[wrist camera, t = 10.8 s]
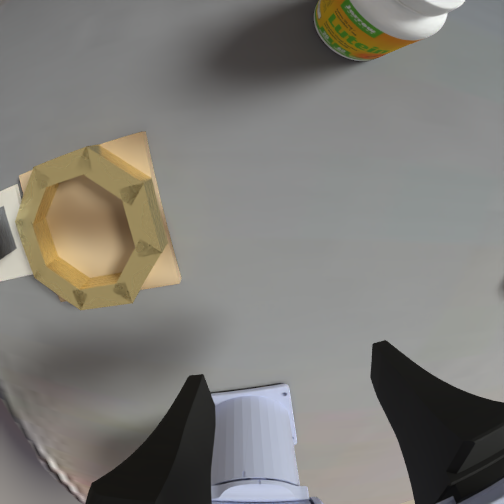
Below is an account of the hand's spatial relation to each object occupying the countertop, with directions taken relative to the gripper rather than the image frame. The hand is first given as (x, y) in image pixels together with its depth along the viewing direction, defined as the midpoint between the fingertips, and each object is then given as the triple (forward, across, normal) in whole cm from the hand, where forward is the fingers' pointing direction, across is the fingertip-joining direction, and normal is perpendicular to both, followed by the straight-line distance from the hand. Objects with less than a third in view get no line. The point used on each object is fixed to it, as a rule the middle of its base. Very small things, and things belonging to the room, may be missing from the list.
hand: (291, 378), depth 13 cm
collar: (+10, +11, -6) cm, 16 cm away
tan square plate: (+10, +11, -6) cm, 16 cm away
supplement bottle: (+10, -8, -16) cm, 21 cm away
